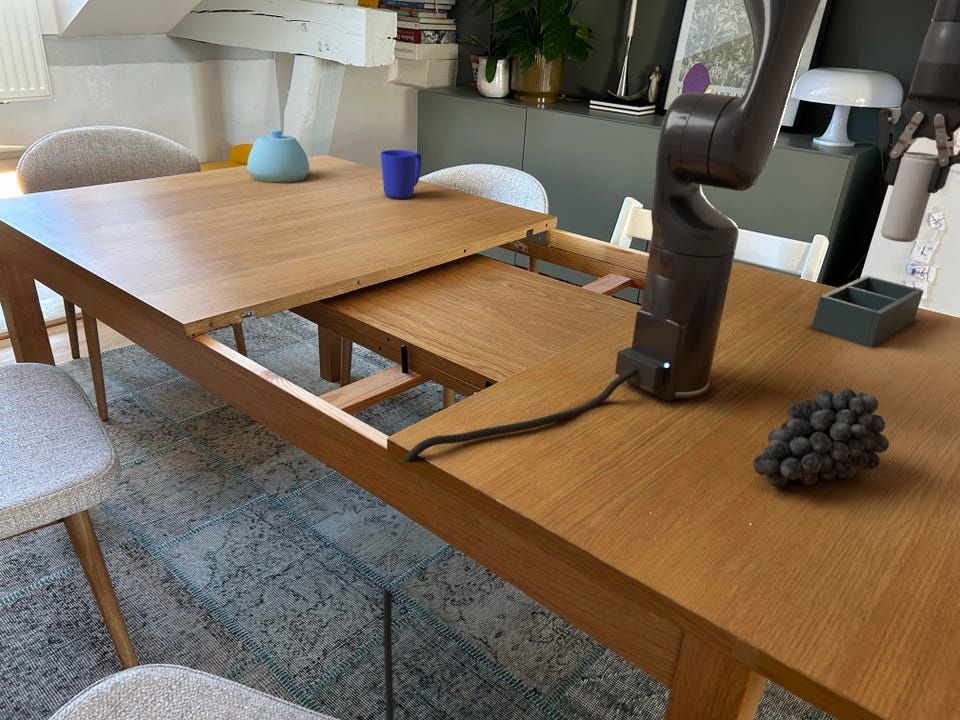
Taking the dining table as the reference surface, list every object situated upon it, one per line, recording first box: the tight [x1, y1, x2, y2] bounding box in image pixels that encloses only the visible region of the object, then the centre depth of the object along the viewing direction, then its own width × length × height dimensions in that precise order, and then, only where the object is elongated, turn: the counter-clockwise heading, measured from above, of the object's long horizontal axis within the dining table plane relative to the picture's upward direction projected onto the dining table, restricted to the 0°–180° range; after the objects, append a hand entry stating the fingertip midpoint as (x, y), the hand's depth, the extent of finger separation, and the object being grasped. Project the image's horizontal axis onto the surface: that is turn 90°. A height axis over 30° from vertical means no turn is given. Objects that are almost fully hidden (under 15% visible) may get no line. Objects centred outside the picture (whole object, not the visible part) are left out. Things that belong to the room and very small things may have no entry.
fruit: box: [752, 388, 890, 488], centre depth 71 cm, size 9×8×15 cm
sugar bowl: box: [246, 128, 311, 183], centre depth 183 cm, size 15×15×12 cm
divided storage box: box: [811, 274, 924, 348], centre depth 110 cm, size 9×16×5 cm, turn 132°
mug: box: [380, 149, 422, 200], centre depth 172 cm, size 8×12×10 cm
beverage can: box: [880, 151, 939, 243], centre depth 105 cm, size 5×5×12 cm
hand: (912, 188), depth 105 cm, fingers closed on beverage can, 5 cm apart
